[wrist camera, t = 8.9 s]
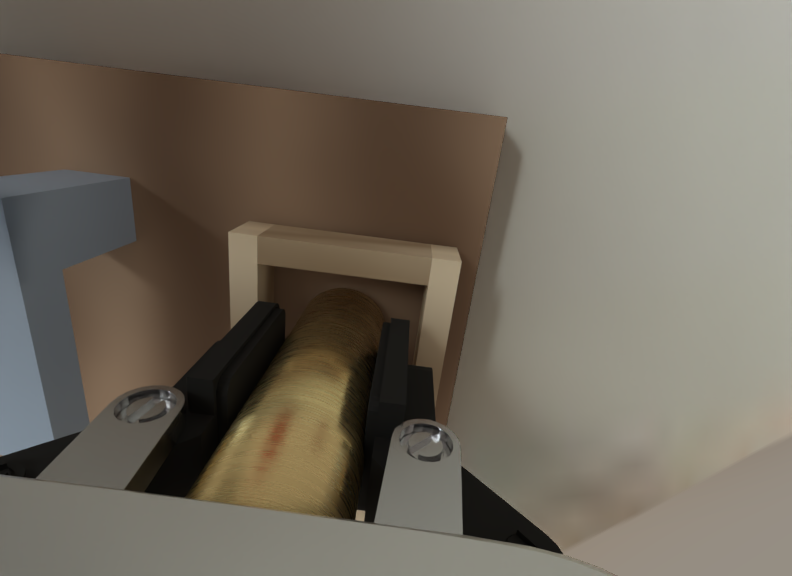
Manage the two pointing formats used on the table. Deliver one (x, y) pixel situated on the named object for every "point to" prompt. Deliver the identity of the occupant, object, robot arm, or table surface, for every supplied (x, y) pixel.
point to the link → (353, 256)
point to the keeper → (49, 294)
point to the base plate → (240, 201)
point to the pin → (304, 416)
